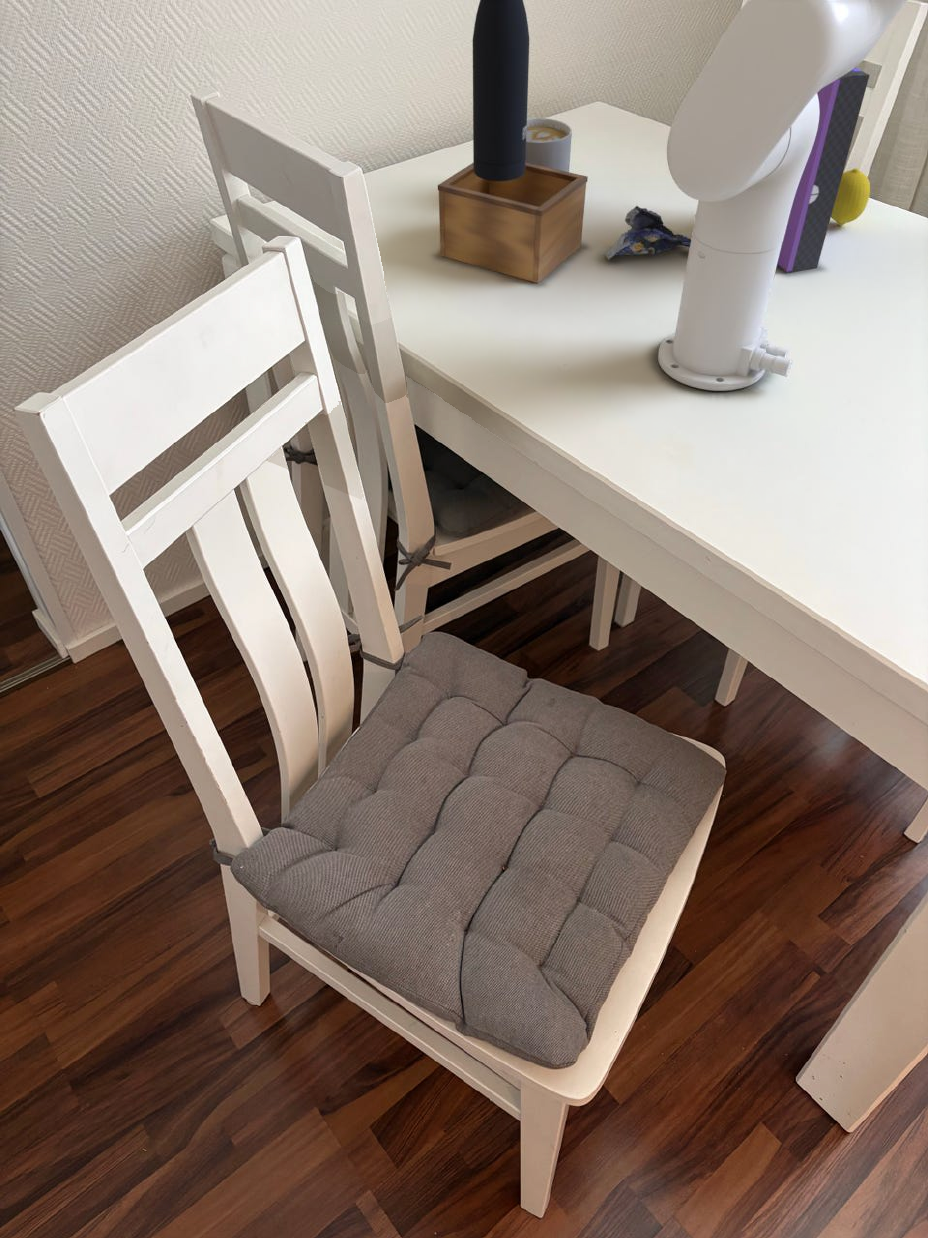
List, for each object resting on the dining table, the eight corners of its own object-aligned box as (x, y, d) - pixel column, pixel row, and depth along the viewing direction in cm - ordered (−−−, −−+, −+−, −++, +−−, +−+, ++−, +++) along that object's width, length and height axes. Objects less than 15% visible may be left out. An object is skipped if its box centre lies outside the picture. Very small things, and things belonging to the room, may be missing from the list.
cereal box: (722, 220, 139) (758, 35, 122) (751, 215, 140) (790, 31, 123) (786, 273, 128) (835, 77, 110) (816, 267, 129) (870, 72, 111)
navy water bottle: (467, 164, 118) (463, -140, 97) (515, 158, 120) (522, -144, 98) (482, 184, 114) (482, -130, 92) (532, 177, 115) (543, -135, 94)
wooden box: (581, 246, 134) (587, 176, 127) (538, 283, 126) (542, 211, 119) (486, 221, 140) (487, 153, 132) (439, 255, 132) (437, 184, 125)
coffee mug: (559, 183, 149) (563, 115, 142) (573, 210, 142) (578, 139, 135) (475, 189, 148) (475, 121, 140) (486, 216, 141) (486, 146, 133)
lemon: (867, 229, 137) (885, 172, 131) (836, 236, 135) (852, 178, 130) (844, 214, 140) (860, 158, 134) (812, 220, 139) (827, 164, 133)
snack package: (595, 233, 137) (605, 269, 128) (607, 188, 132) (618, 222, 124) (674, 246, 138) (689, 282, 130) (689, 202, 134) (705, 236, 126)
